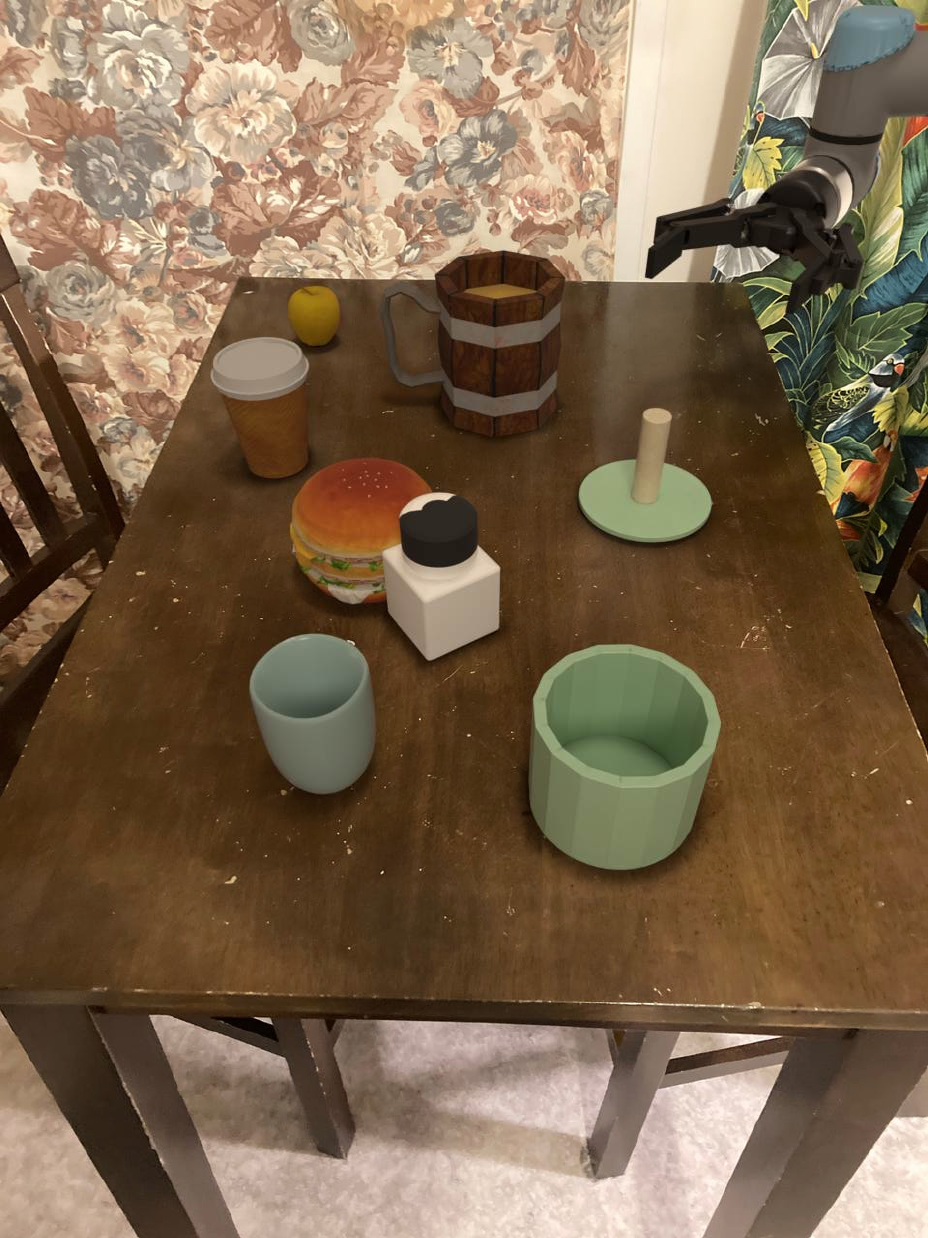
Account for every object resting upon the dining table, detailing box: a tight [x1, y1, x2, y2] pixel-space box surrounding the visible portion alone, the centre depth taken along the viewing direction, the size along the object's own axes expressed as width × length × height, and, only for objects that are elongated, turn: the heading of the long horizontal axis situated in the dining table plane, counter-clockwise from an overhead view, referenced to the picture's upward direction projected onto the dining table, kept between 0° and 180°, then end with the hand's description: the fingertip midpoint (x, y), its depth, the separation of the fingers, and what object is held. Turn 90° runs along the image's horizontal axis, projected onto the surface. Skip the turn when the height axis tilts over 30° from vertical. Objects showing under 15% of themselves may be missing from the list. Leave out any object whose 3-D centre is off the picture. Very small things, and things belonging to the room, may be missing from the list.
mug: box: [379, 249, 566, 438], centre depth 94 cm, size 20×14×15 cm
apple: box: [287, 285, 341, 347], centre depth 108 cm, size 6×6×8 cm
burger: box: [289, 457, 433, 605], centre depth 76 cm, size 13×14×10 cm
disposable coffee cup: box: [210, 336, 310, 479], centre depth 88 cm, size 10×10×12 cm
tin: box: [527, 643, 722, 871], centre depth 58 cm, size 12×12×10 cm
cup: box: [248, 633, 377, 795], centre depth 60 cm, size 8×8×10 cm
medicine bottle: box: [382, 492, 501, 662], centre depth 70 cm, size 7×7×12 cm
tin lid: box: [578, 407, 712, 543], centre depth 82 cm, size 13×13×10 cm
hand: (718, 280), depth 78 cm, fingers open, 13 cm apart
